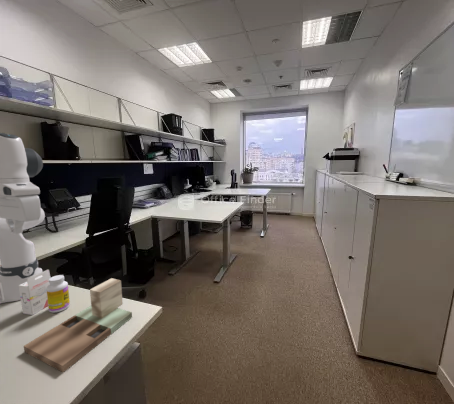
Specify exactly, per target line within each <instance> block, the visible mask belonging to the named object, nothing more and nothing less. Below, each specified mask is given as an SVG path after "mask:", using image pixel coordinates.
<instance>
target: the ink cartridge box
mask: <svg viewBox="0 0 454 404" xmlns="http://www.w3.org/2000/svg"><path fill="white" fill-rule="evenodd" d="M50 278H51V274H50V269H46V270H43V271H42V272H41V273H39V274H36V275H34V276H32V277H30V278H28V279H27V282H25V283H23V284H21V285H19V292H20V299H21V300H20V303H21V311H22V314H24V315H30V316H33V315H35V314H37V313H38V312H40V311H42V310H43V309H45V308H46V307H48V298H47V290H46V289H47V287H48V285H50V283H49V279H50Z"/></svg>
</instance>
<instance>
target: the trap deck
mask: <svg viewBox="0 0 454 404" xmlns="http://www.w3.org/2000/svg"><path fill="white" fill-rule="evenodd" d="M132 318H133V312H132V311H129V310H125V309H122V308H119V307H118V308H117V309H115V310H114V311H112V312H111V313H109V314H108V315H106V316H105V317H104V318H99V317H96V316H93V315H92V307H91V305H90V306H88V307H86V308H85V309H83V310H81V311H79V312H78V313H76V314H75V315H73V316H71V317H70V318H68V319H66V320H64V321H63V322H61V323H59V324H58V325H56V326H55V327H53V328H50V329H49V330H48V331H46V332H44V333H43V334H42V335H41V334H40V336H38V337H36V338H35V339H33V340H31V341H29V342H28V343H26V344H25V345H23V352H24V353H25V354H28V355H29V356H31V357H33V358H35V359H37V360H38V361H41V362H43V363H45V364H47V365H48V366H50V367H52V368H54V369H55V370H58V371H60V372H62V373H65V371H67V370H68V369H70V368H71V367H72V366H73V365H75V364H76V363H77V362H78V361H80V360H81V359H82V358H83V357H84V356H86V354H88V353H89V352H91V351H92V350H93V349H94V348H96V347H97V346H98V345H100V344H101V343H102V342H103V341H105V339H107V338H108V337H109V336H111V335H112V334H113V333H115V332H116V331H117V330H118V329H119V328H120V327H122V326H124V324H126V323H127V322H128V321H129V320H130V319H132Z"/></svg>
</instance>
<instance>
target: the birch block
mask: <svg viewBox="0 0 454 404" xmlns="http://www.w3.org/2000/svg"><path fill="white" fill-rule="evenodd" d="M89 293H90V294H89V295H90V306H91V307H92V315H93V316H96V317H99V318H104V317H105V316H106V315H108V314H109V313H111V312H112V311H114V310H115V309H117V308H119V307H121V306H123V304H124V303H123V289H122V280H120V279H116V278H112V277H111V278H109V279H108V280H105V281H103V282H101V283H99V284H97V285H96V286H94V287H92V288H90V289H89Z"/></svg>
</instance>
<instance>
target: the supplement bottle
mask: <svg viewBox="0 0 454 404" xmlns="http://www.w3.org/2000/svg"><path fill="white" fill-rule="evenodd" d="M49 283H50V285H48V287H47V289H46V290H47V298H48V306H47V307H48V312H49V313H53V314H54V313H55V314H56V313H60V312H63V311H65V310H66V309H68V308H69V307H70V305H71V304H70V302H71V301H70V293H69V283H68V281H65V276H64V274H59V275H54V276H52V277H51V278H50V279H49Z"/></svg>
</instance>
